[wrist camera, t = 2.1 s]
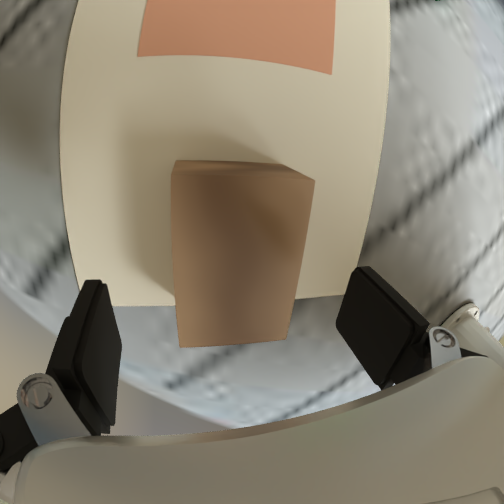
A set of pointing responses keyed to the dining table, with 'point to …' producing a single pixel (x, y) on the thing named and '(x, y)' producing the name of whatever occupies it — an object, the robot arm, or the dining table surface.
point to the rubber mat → (218, 124)
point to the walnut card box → (236, 249)
